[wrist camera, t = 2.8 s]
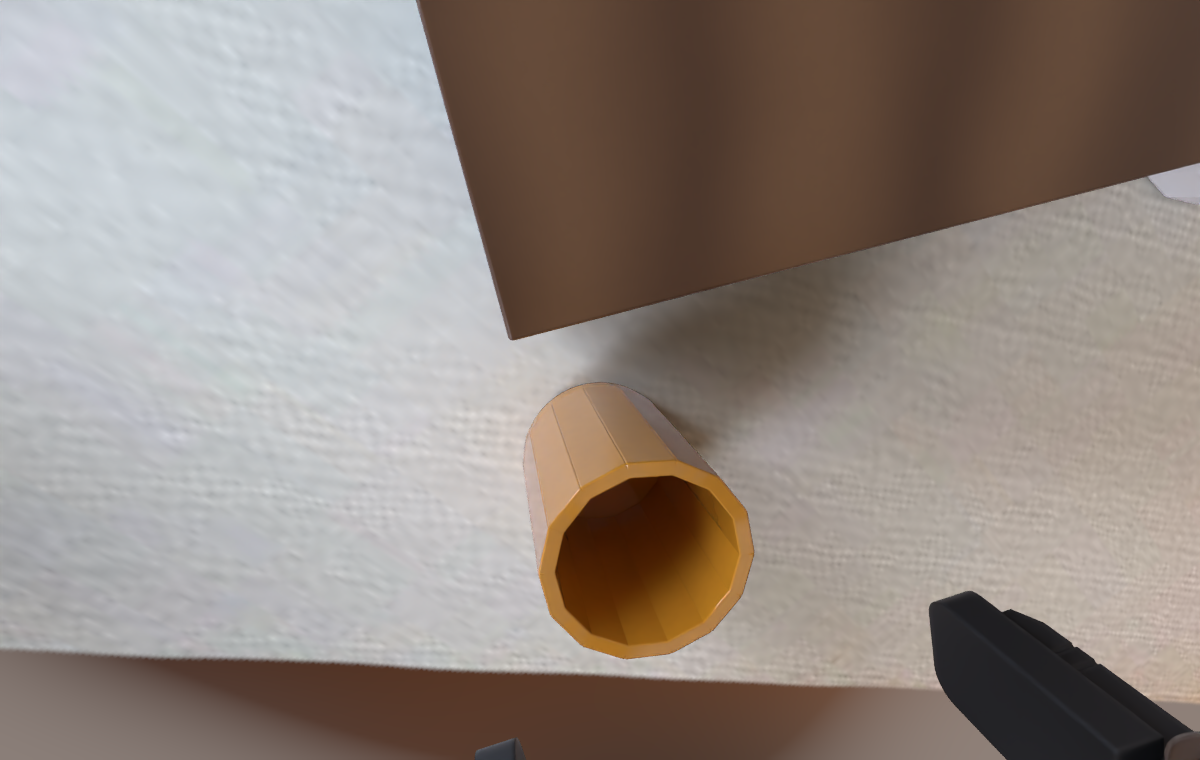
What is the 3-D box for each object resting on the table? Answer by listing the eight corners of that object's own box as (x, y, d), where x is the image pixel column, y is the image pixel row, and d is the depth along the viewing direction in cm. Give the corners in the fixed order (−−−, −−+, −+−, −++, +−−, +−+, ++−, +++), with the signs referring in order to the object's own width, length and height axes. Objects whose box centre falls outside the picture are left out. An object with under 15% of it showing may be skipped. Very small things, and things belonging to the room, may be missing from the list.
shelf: (499, 282, 23) (509, 342, 11) (406, -58, 20) (293, -448, 8) (944, 171, 25) (1339, 127, 13) (922, -154, 22) (1408, -578, 10)
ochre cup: (544, 539, 26) (570, 686, 17) (505, 402, 24) (514, 495, 16) (681, 499, 26) (767, 623, 18) (652, 363, 25) (733, 432, 16)
